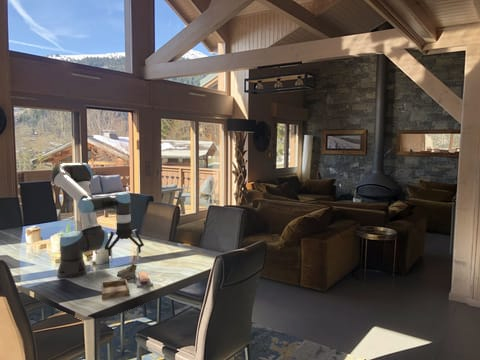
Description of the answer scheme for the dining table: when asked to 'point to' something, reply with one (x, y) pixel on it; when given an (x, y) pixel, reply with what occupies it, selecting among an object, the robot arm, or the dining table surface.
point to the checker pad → (143, 276)
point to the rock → (127, 272)
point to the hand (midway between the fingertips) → (124, 260)
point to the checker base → (139, 284)
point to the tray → (114, 289)
